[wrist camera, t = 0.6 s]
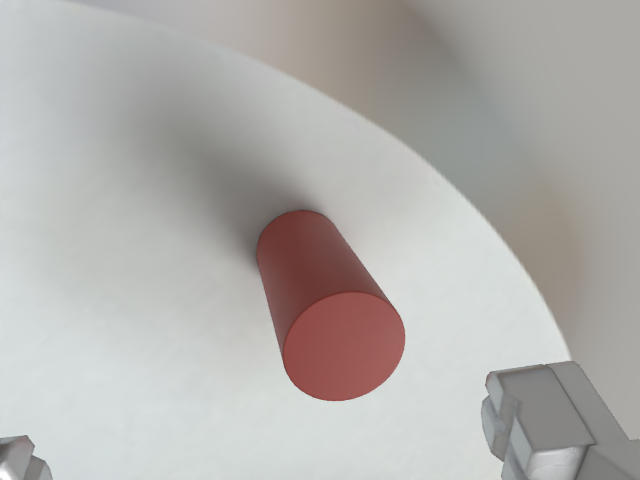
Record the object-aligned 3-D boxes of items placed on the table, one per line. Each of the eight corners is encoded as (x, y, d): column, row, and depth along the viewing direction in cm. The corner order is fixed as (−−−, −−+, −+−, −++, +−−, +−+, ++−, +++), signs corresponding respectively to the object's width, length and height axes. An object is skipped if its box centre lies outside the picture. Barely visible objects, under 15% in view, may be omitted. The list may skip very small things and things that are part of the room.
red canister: (239, 239, 28) (258, 335, 19) (317, 193, 28) (373, 267, 19) (283, 305, 30) (320, 422, 21) (356, 262, 30) (424, 360, 21)
